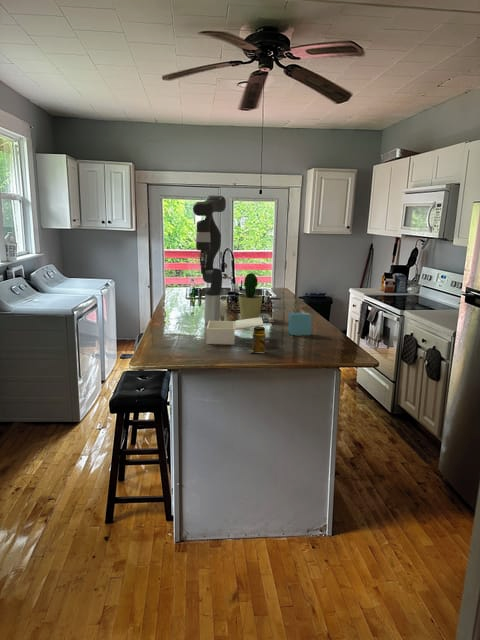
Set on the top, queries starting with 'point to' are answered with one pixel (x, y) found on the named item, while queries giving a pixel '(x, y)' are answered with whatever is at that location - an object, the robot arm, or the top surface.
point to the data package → (300, 324)
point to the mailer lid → (248, 323)
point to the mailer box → (220, 332)
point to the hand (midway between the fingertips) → (203, 273)
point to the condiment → (259, 339)
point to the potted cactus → (250, 299)
